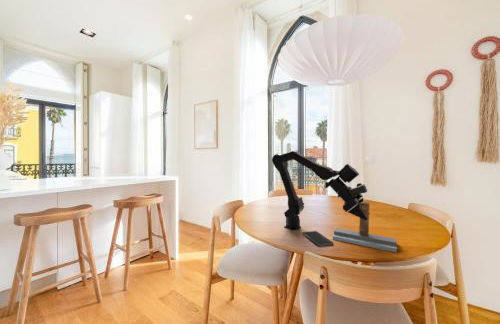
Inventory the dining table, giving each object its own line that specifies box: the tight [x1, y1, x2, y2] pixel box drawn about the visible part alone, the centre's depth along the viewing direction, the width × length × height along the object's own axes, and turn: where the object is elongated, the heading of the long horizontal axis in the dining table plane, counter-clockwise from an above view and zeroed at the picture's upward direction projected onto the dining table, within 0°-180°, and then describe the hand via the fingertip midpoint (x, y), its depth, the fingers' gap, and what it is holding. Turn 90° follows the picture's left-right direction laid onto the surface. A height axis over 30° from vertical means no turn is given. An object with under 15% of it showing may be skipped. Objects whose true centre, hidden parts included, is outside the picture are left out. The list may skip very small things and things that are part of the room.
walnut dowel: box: [358, 201, 370, 236], centre depth 98 cm, size 4×4×14 cm
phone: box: [302, 230, 334, 247], centre depth 101 cm, size 8×1×15 cm
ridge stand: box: [332, 227, 398, 253], centre depth 98 cm, size 24×10×3 cm, turn 57°
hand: (367, 217), depth 97 cm, fingers open, 9 cm apart
